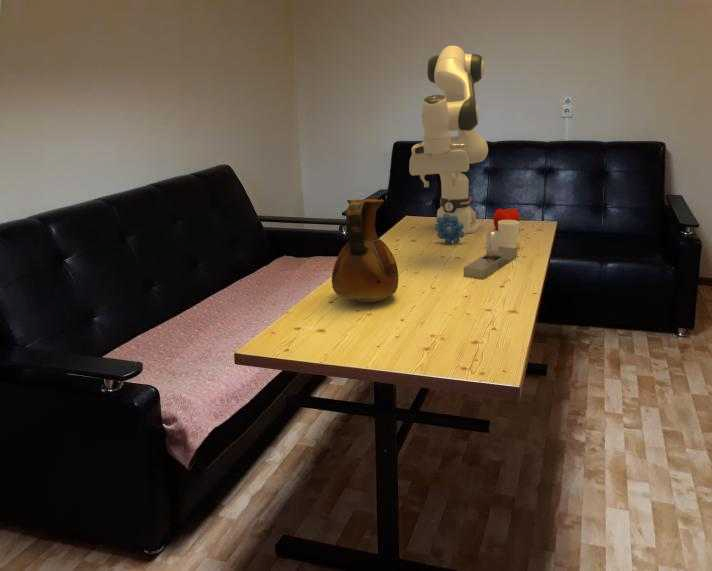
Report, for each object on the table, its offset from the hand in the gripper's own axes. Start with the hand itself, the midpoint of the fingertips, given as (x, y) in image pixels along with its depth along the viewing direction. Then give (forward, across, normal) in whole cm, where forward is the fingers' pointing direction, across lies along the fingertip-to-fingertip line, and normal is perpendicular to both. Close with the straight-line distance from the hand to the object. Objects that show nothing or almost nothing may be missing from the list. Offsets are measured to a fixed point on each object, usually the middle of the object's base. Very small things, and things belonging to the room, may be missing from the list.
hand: (440, 186), depth 235 cm
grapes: (+29, 0, -24) cm, 38 cm away
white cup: (+31, -22, -20) cm, 43 cm away
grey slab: (+28, -16, +6) cm, 33 cm away
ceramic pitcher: (+22, +21, +46) cm, 55 cm away
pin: (+28, -16, +6) cm, 33 cm away
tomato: (+34, -22, -51) cm, 65 cm away
